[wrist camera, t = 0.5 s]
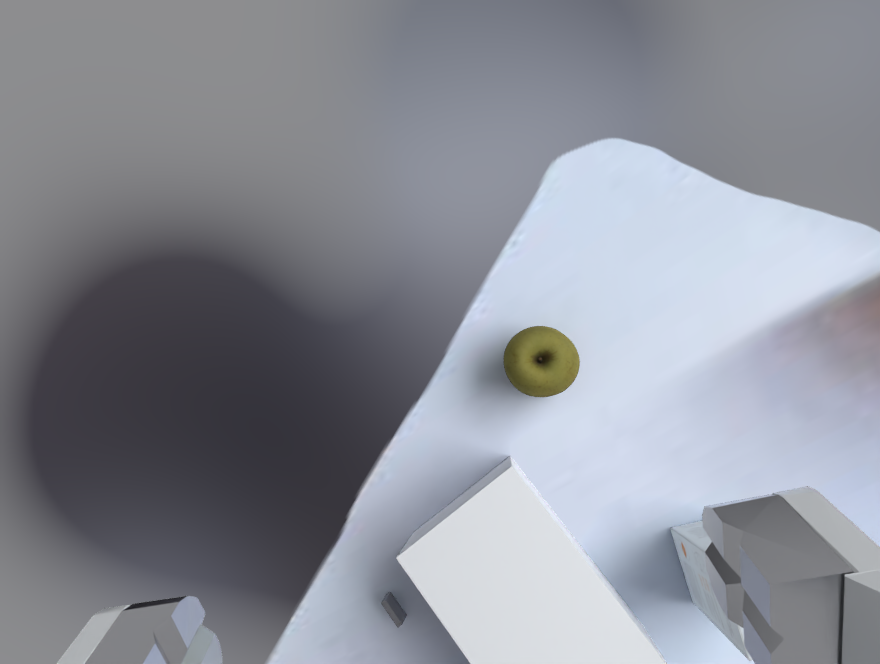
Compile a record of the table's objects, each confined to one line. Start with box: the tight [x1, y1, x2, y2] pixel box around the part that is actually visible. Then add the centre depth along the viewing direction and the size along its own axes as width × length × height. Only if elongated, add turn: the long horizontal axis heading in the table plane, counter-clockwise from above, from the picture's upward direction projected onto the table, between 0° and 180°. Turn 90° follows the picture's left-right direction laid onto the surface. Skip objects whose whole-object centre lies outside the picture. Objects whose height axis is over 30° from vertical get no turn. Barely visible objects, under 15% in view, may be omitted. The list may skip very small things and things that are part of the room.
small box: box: [670, 520, 753, 661], centre depth 50 cm, size 8×6×13 cm
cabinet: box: [381, 456, 667, 664], centre depth 53 cm, size 22×21×10 cm
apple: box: [504, 326, 579, 397], centre depth 57 cm, size 8×8×7 cm
